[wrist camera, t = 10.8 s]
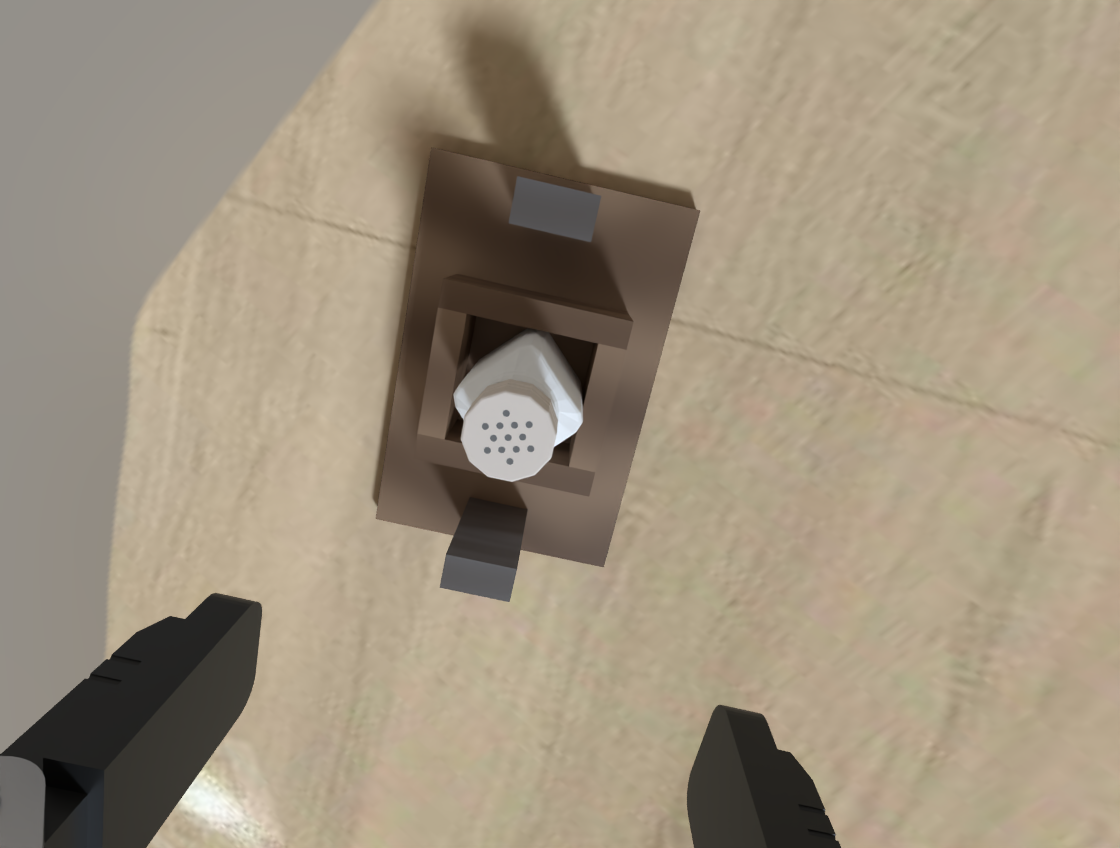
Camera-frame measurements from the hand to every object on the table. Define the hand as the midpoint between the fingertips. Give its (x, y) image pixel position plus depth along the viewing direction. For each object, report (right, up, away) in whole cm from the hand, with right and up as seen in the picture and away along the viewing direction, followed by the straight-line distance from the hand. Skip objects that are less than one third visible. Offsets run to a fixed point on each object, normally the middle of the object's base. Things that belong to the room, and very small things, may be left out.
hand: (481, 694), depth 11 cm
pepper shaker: (0, +7, +19) cm, 21 cm away
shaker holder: (0, +7, +20) cm, 21 cm away
